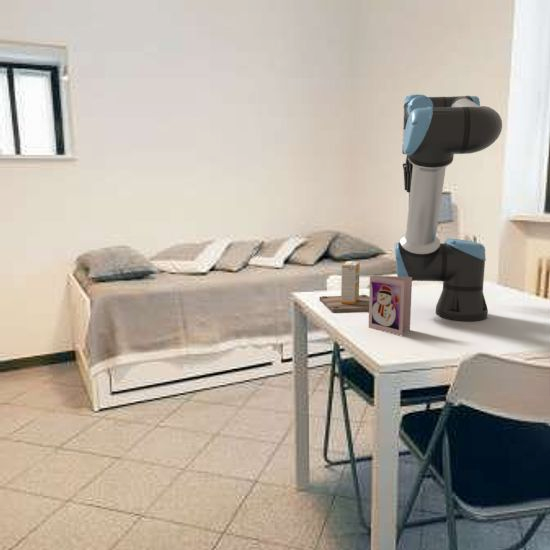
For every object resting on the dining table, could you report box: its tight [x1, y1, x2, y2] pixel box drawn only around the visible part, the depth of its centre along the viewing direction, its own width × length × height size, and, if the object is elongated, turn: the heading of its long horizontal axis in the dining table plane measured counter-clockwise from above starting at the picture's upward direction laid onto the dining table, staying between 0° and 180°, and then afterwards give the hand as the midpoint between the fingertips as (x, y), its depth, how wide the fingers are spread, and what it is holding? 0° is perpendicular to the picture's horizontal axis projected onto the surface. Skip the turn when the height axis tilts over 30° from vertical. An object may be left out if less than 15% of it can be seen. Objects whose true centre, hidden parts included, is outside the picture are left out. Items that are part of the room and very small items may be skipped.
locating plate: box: [319, 294, 369, 313], centre depth 177 cm, size 18×17×2 cm
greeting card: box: [368, 275, 413, 336], centre depth 147 cm, size 11×7×15 cm, turn 42°
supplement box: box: [340, 261, 361, 304], centre depth 176 cm, size 8×5×13 cm, turn 161°
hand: (411, 211), depth 186 cm, fingers closed
